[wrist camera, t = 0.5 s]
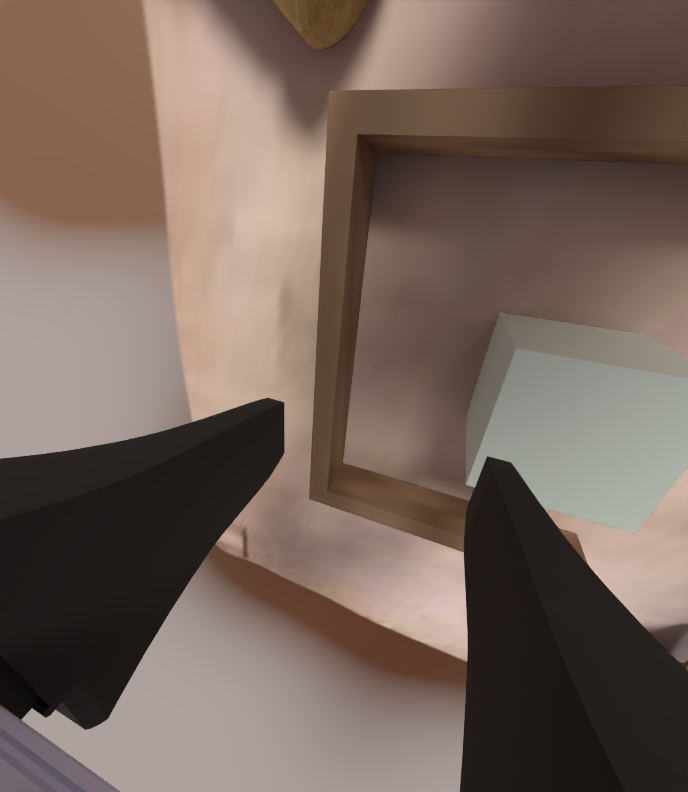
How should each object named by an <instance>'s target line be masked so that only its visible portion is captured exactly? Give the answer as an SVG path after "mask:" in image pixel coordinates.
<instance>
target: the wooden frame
mask: <svg viewBox="0 0 688 792" xmlns="http://www.w3.org/2000/svg"><path fill="white" fill-rule="evenodd" d="M377 153H397V154H424V155H451V156H477V157H504V158H531V159H558V160H585V161H612V162H639V163H666V164H688V85H682V86H615V87H548V88H482V89H415V90H348V91H329V103H328V124H327V144H326V165H325V185H324V206H323V226H322V247H321V267H320V288H319V308H318V329H317V350H316V370H315V391H314V411H313V432H312V452H311V473H310V493H309V499H311V500H314V501H317V502H320V503H323V504H325V505H328V506H331V507H334V508H337V509H340V510H343V511H346V512H349V513H352V514H355V515H357V516H360V517H363V518H366V519H369V520H372V521H375V522H378V523H381V524H384V525H387V526H389V527H392V528H395V529H398V530H401V531H404V532H407V533H410V534H413V535H416V536H419V537H421V538H424V539H427V540H430V541H433V542H436V543H439V544H442V545H445V546H448V547H451V548H453V549H456V550H459V551H462V552H464V531H465V519H466V509H467V506H468V504H469V501H466V500H463V499H460V498H456V497H453V496H450V495H446V494H443V493H440V492H436V491H433V490H430V489H427V488H423V487H420V486H417V485H413V484H410V483H407V482H403V481H400V480H397V479H394V478H390V477H387V476H384V475H380V474H377V473H374V472H371V471H367V470H364V469H361V468H357V467H354V466H351V465H347V464H344V463H343V454H344V445H345V436H346V427H347V418H348V409H349V400H350V391H351V382H352V373H353V364H354V355H355V346H356V337H357V328H358V319H359V310H360V301H361V292H362V283H363V274H364V265H365V256H366V247H367V238H368V229H369V220H370V211H371V202H372V193H373V184H374V175H375V166H376V156H377ZM559 530H560V531H561V532H562V533H563V535H564V536H565V537H566V539H567V540H568V541H569V542H570V544H571V545H572V546H573V547H574V549H575V550H576V551H577V552H578V553H579V555H580V556H581V557H582V558H583V560H584V561H585V562H586V563H587V561H586V558H585V556H584V553H583V550H582V547H581V545H580V542H579V539H578V537H577V534H575V533H572V532H568V531H565V530H562V529H559Z"/></svg>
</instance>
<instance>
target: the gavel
mask: <svg viewBox="0 0 688 792" xmlns="http://www.w3.org/2000/svg"><path fill="white" fill-rule="evenodd" d="M272 2H273V3H274V4H275V5H276V6H277V8H278V9H279V10H280V11H281V13H282V14H283V15H284V16H285V17H286V19H287V20H288V21H289V22H290V23H291V25H292V26H293V27H294V28H295V30H296V31H297V32H298V33H299V34H300V36H301V37H302V38H303V39H304V40H305V42H306V43H307V44H308V45H309V46H310V47H313V48H315V49H325V48H328V47H330V46H332V45H333V44H335V43H336V42H338V41H339V40H340V39H342V38H343V37H344V36H345V35H346V34H347V33H348V32H349V31H350V30H351V29H352V27H353V26H354V24H355V23H356V21H357V19H358V17H359V16H360V14H361V12H362V10H363V9H364V7H365V5H366V4H367V2H368V0H272Z"/></svg>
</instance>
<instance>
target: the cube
mask: <svg viewBox="0 0 688 792" xmlns="http://www.w3.org/2000/svg"><path fill="white" fill-rule="evenodd" d="M487 456H489V457H493V458H496V459H500V460H504V461H508V462H511V463H512V464H513V465H514V467H515V468H516V470H517V471H518V472H519V474H520V475H521V477H522V478H523V480H524V481H525V483H526V484H527V485H528V487H529V488H530V490H531V491H532V493H533V494H534V495H535V497H536V498H537V500H538V501H539V503H540V504H541V505H542V507H544V508H547V509H551V510H554V511H558V512H561V513H564V514H568V515H571V516H575V517H578V518H582V519H585V520H589V521H592V522H595V523H599V524H602V525H606V526H609V527H613V528H616V529H620V530H623V531H626V532H630V533H633V534H635V533H636V532H637V531H638V529H639V528H640V527H641V526H642V524H643V523H644V522H645V521H646V519H647V518H648V517H649V516H650V514H651V513H652V512H653V510H654V509H655V508H656V507H657V505H658V504H659V503H660V502H661V500H662V499H663V498H664V497H665V495H666V494H667V493H668V492H669V490H670V489H671V488H672V487H673V485H674V484H675V483H676V482H677V480H678V479H679V478H680V476H681V475H682V474H683V473H684V471H685V470H686V469H687V468H688V357H687V356H685V355H683V354H681V353H679V352H677V351H676V350H674V349H672V348H670V347H668V346H666V345H664V344H662V343H661V342H659V341H657V340H655V339H653V338H651V337H649V336H647V335H645V334H638V333H632V332H625V331H619V330H612V329H606V328H599V327H593V326H586V325H580V324H573V323H567V322H560V321H554V320H547V319H541V318H534V317H528V316H521V315H514V314H508V313H501V312H499V315H498V319H497V322H496V325H495V328H494V331H493V334H492V337H491V340H490V343H489V346H488V349H487V353H486V356H485V359H484V362H483V365H482V368H481V371H480V374H479V377H478V380H477V384H476V387H475V390H474V393H473V396H472V399H471V402H470V405H469V408H468V411H467V414H466V485H468V486H471V487H475V486H476V483H477V481H478V478H479V476H480V473H481V471H482V468H483V465H484V463H485V460H486V458H487Z"/></svg>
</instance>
